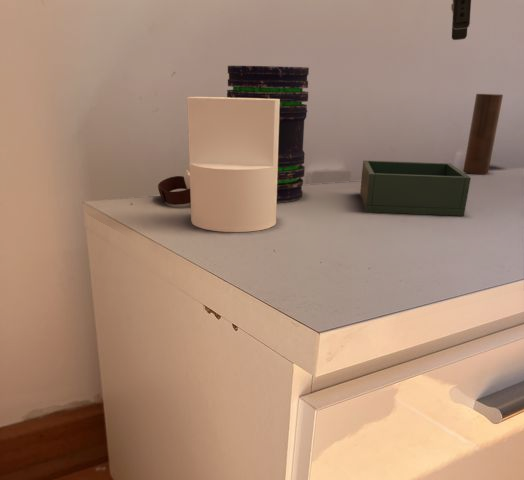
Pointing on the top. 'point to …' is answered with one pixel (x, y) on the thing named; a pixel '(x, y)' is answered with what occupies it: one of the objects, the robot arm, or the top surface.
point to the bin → (414, 188)
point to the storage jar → (290, 116)
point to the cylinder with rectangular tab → (233, 162)
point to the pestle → (482, 133)
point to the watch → (174, 184)
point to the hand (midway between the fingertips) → (459, 34)
